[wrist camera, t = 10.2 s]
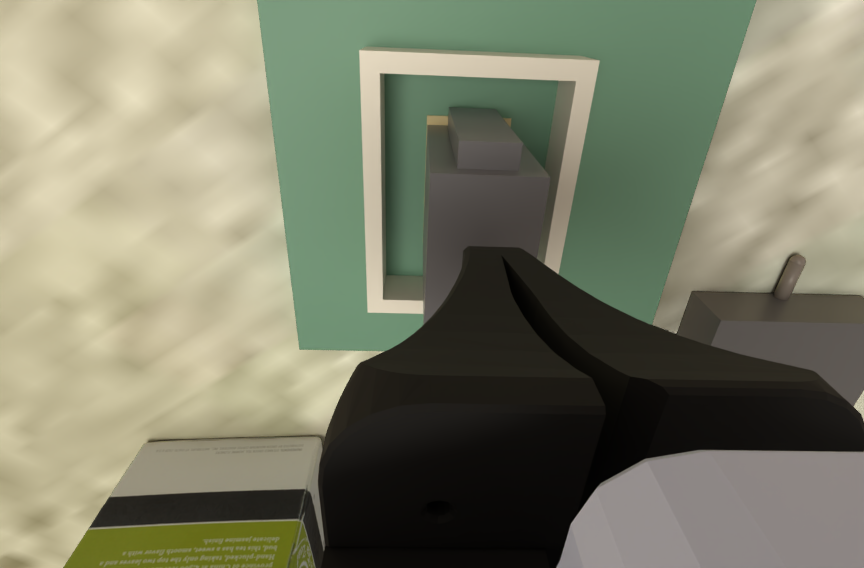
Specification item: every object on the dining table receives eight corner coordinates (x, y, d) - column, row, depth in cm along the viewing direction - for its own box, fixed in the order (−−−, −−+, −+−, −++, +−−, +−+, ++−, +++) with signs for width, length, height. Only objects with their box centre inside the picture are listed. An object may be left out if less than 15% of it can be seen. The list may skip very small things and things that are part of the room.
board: (633, 343, 23) (660, 384, 21) (304, 336, 23) (289, 378, 20) (755, -56, 15) (824, -70, 13) (256, -82, 15) (221, -103, 12)
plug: (495, 253, 19) (523, 340, 14) (422, 251, 19) (423, 338, 14) (513, 107, 17) (555, 149, 11) (427, 104, 17) (431, 144, 11)
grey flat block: (789, 420, 26) (823, 458, 24) (646, 418, 26) (668, 456, 24) (882, 255, 21) (936, 282, 19) (707, 250, 21) (741, 278, 19)
